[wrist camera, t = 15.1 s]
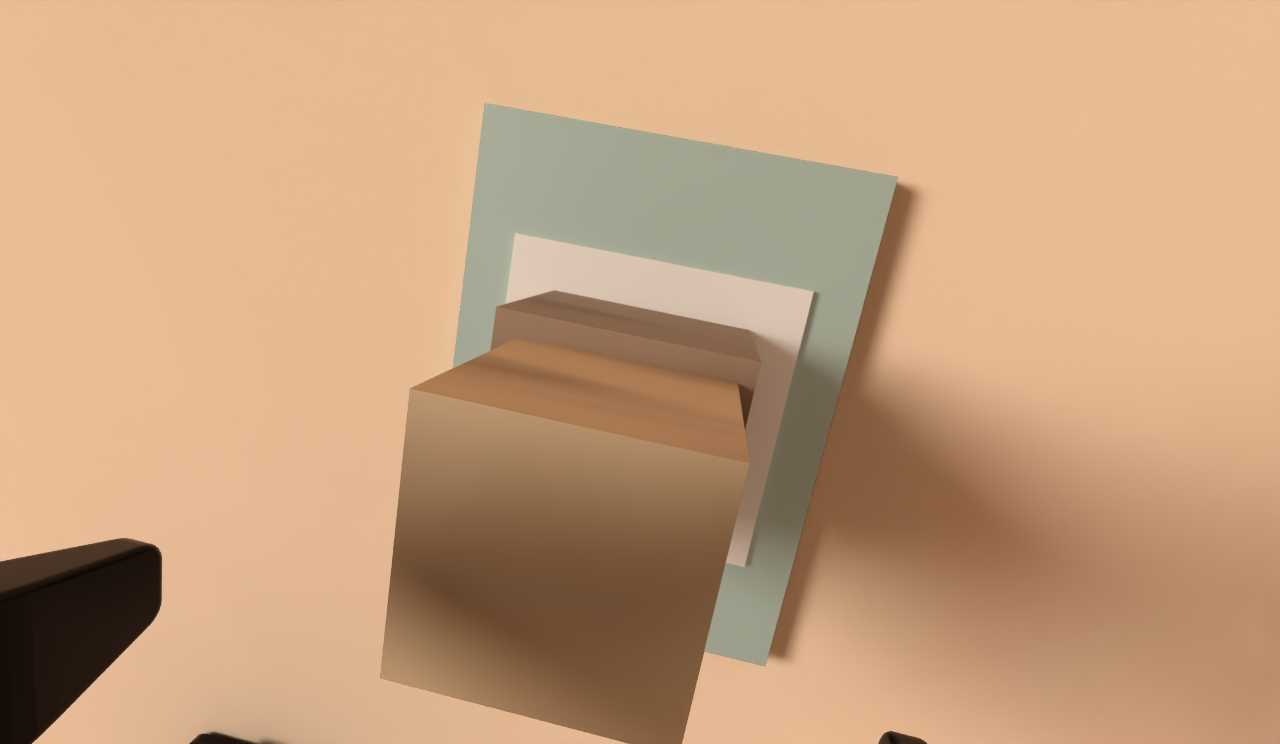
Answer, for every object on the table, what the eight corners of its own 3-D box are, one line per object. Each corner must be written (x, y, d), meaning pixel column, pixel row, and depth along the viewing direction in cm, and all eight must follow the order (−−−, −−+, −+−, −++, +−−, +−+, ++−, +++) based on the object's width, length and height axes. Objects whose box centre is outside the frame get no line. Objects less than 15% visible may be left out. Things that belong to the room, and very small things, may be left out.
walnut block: (707, 513, 19) (703, 603, 14) (526, 471, 20) (463, 545, 15) (749, 330, 18) (761, 361, 13) (554, 290, 18) (496, 306, 14)
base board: (763, 650, 21) (765, 670, 20) (437, 571, 22) (424, 585, 21) (890, 179, 18) (900, 176, 17) (494, 108, 19) (482, 101, 18)
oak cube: (691, 583, 14) (678, 756, 10) (490, 535, 15) (380, 678, 10) (737, 383, 13) (750, 463, 8) (518, 337, 14) (409, 388, 9)
